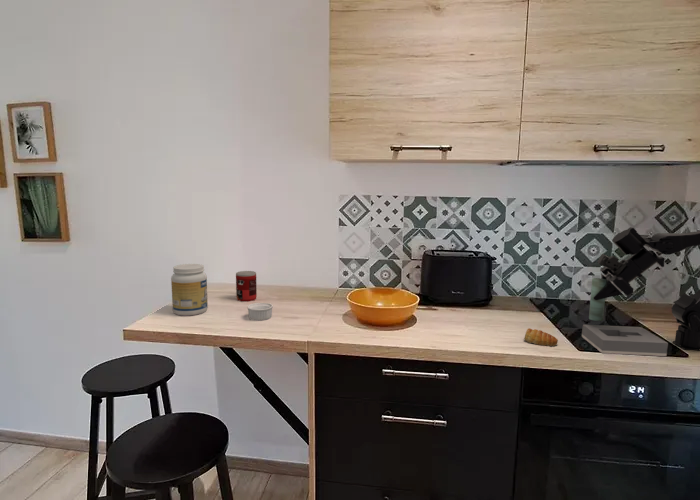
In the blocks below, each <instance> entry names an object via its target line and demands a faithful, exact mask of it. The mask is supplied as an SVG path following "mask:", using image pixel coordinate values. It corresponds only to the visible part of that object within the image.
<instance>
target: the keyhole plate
mask: <svg viewBox="0 0 700 500" xmlns="http://www.w3.org/2000/svg"><path fill="white" fill-rule="evenodd" d="M581 337H582V338H583V340H585V341H587V342H588V343H589V344H590V345H591V346H593V348H595V349H597V351H599V352H600V353H601V354H610V355H612V354H613V355H633V356H637V355H638V356H654V357H655V356H657V357H667V354H668V347H669V343H668V342H667V341H665V340H664V339H662V338H660V337H659V336H657V335H655V334H653V333H652V332H651V331H648V330H647V329H645V328H643V327H642V326H626V325H625V326H623V325H622V326H621V325H601V324H599V325H598V324H582V330H581Z"/></svg>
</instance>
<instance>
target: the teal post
mask: <svg viewBox="0 0 700 500" xmlns="http://www.w3.org/2000/svg"><path fill="white" fill-rule="evenodd" d="M605 285H606V279H601V277H600V278H599V277H593V278H591V287H590V301H589V314H588V319H589V320H591V321H595V322H602V321H603V320H604V313H605V312H604V311H605V304H606V303H605V302H606V298H604V299H600V300H595V299H594V298H593V297H594V296H595V295H596V294H597V293H598V292H599V291H600V290H601V289H602V288H603V287H604V286H605Z"/></svg>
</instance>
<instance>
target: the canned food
mask: <svg viewBox="0 0 700 500" xmlns="http://www.w3.org/2000/svg"><path fill="white" fill-rule="evenodd" d="M235 287H236V288H235V290H236V292H235V293H236V300H237V301H238V302H241V303H243V302H253V301H255V300H256V299H257V296H258V295H257V292H258V291H257V289H258V288H257V271H253V270H241V271H238V272H235Z"/></svg>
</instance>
